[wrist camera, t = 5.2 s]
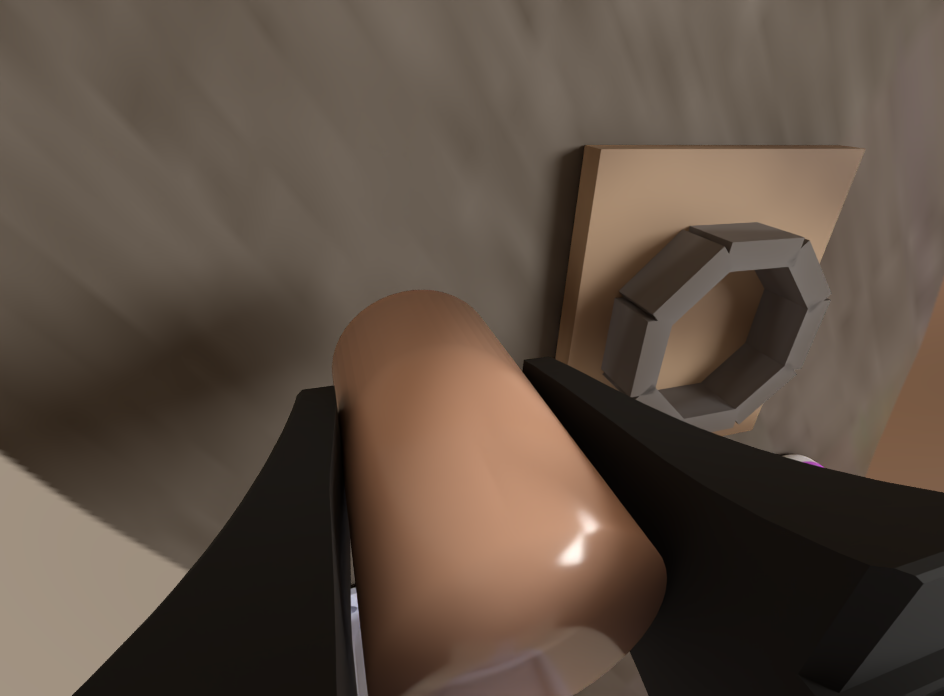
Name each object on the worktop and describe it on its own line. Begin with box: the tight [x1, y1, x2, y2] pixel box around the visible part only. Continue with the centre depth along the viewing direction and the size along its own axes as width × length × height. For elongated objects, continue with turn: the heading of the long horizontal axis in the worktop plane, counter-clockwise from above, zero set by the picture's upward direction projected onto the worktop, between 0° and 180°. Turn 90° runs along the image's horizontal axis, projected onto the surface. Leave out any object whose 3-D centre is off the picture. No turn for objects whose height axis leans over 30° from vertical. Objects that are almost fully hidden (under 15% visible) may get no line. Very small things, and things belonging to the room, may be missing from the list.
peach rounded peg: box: [332, 290, 667, 696], centre depth 9 cm, size 4×4×7 cm
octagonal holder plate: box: [555, 145, 866, 436], centre depth 19 cm, size 13×11×3 cm
